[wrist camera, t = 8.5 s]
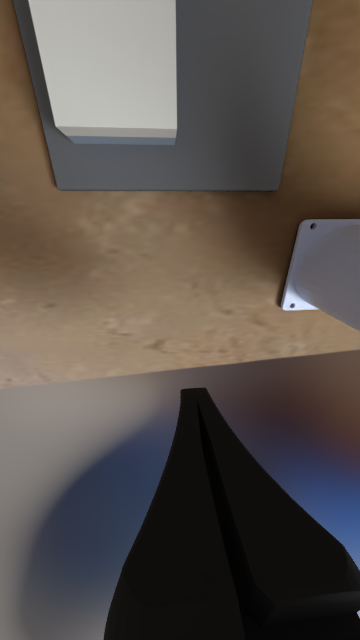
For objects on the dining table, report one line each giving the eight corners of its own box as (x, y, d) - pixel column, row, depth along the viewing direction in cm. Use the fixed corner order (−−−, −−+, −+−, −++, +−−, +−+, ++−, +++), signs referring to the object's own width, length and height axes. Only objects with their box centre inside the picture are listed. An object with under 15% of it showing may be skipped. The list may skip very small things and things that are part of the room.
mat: (336, -168, 9) (347, -192, 9) (274, 191, 15) (278, 189, 15) (-32, -214, 8) (-46, -246, 8) (61, 190, 14) (57, 189, 14)
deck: (173, -211, 7) (-23, -236, 6) (176, 128, 11) (55, 126, 10) (170, -104, 9) (25, -118, 9) (174, 145, 13) (74, 143, 13)
